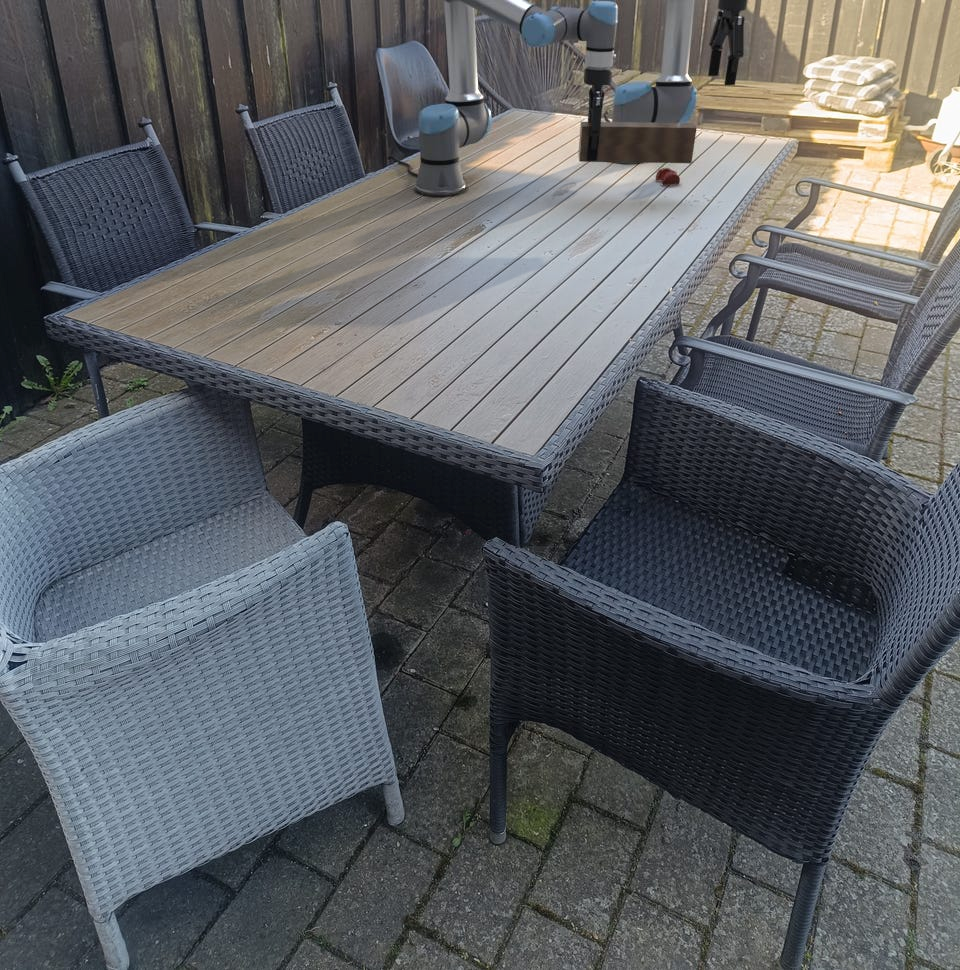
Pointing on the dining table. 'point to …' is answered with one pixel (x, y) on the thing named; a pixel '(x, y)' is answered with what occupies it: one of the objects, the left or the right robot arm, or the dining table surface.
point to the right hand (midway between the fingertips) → (721, 80)
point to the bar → (640, 142)
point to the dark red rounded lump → (668, 176)
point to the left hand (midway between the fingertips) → (591, 157)
